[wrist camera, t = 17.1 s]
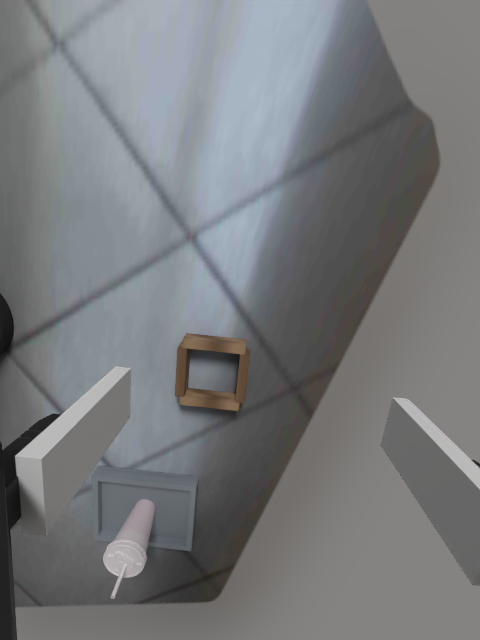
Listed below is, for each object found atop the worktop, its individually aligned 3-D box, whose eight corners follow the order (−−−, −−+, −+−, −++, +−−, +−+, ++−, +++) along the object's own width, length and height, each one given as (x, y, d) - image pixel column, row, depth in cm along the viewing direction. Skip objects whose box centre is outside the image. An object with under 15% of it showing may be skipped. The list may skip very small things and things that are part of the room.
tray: (99, 528, 57) (93, 540, 55) (98, 465, 54) (91, 475, 52) (193, 538, 57) (191, 551, 55) (198, 476, 54) (196, 487, 51)
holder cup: (178, 394, 50) (174, 404, 47) (182, 332, 48) (178, 338, 45) (243, 401, 50) (243, 411, 47) (250, 340, 47) (250, 346, 45)
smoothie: (137, 526, 56) (101, 616, 42) (121, 499, 54) (78, 583, 41) (168, 516, 55) (141, 605, 41) (153, 488, 53) (120, 571, 40)
